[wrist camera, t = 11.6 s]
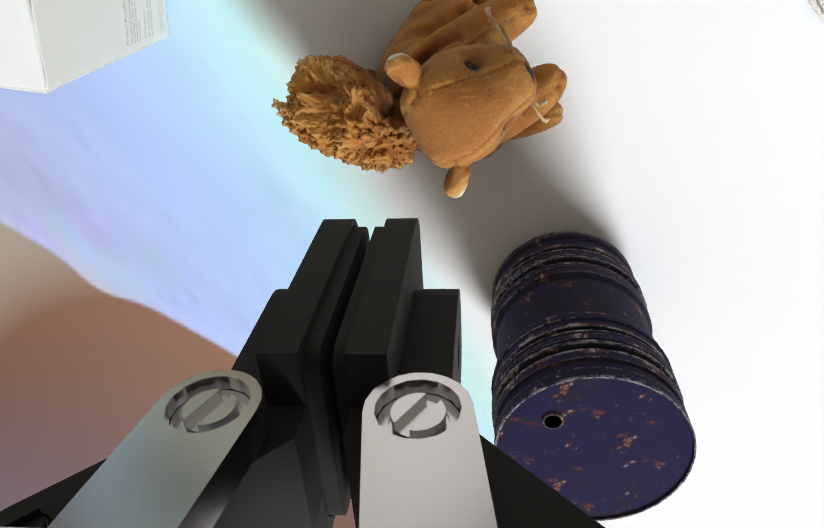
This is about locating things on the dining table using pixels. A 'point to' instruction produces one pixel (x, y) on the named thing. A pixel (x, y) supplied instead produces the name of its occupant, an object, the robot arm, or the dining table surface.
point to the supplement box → (72, 38)
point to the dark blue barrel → (585, 378)
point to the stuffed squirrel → (429, 92)
